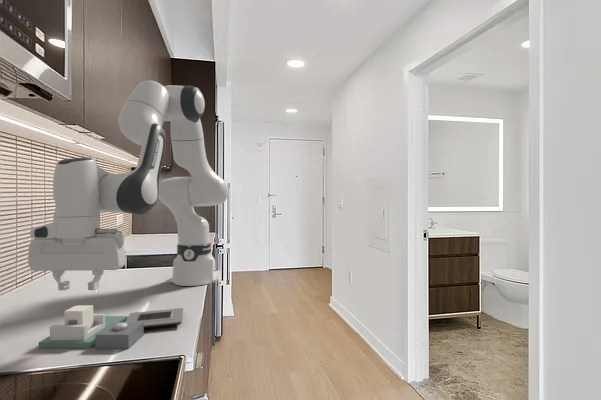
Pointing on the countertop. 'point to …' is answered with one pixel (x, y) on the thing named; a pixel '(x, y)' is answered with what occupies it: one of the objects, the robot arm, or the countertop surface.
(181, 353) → the countertop surface
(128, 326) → the grey push button
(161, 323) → the electrical outlet
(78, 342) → the board
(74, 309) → the plug
